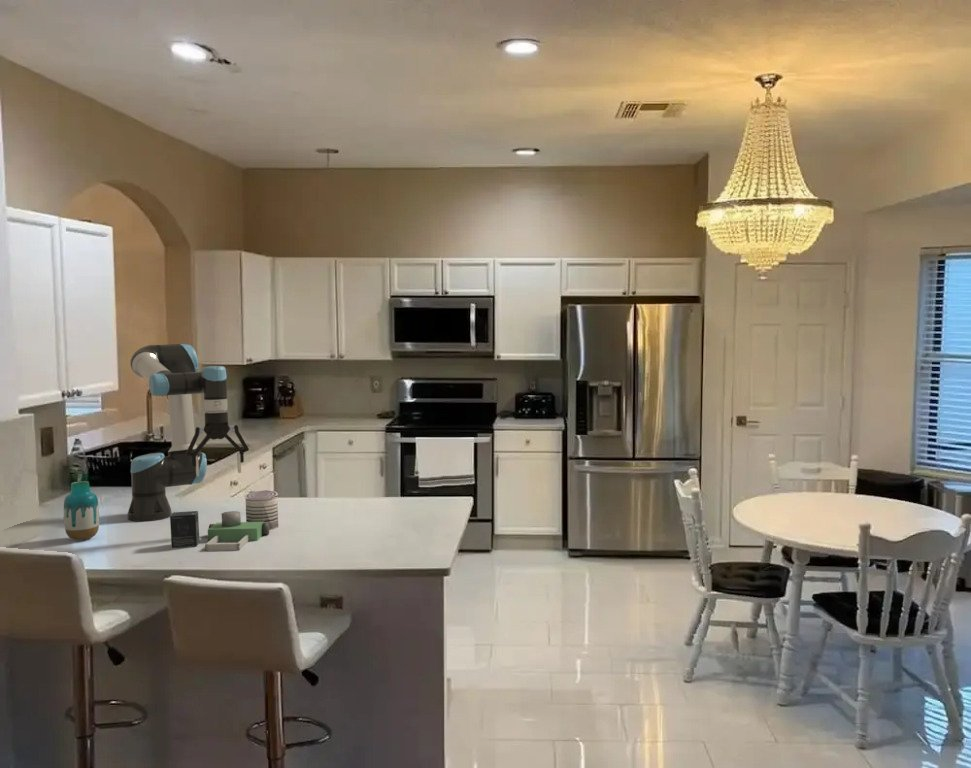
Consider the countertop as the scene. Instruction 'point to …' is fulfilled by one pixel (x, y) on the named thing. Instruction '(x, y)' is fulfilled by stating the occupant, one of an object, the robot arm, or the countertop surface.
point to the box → (184, 529)
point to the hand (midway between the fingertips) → (218, 474)
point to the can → (262, 507)
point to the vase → (81, 512)
